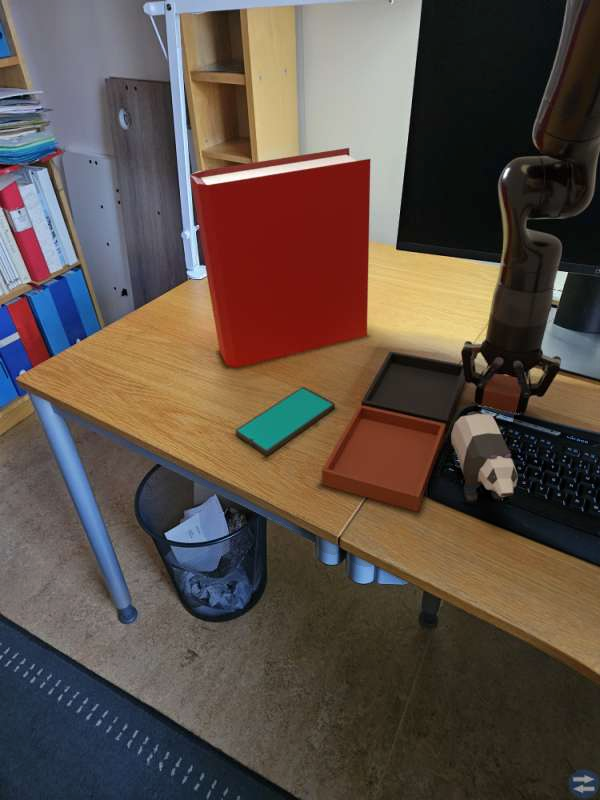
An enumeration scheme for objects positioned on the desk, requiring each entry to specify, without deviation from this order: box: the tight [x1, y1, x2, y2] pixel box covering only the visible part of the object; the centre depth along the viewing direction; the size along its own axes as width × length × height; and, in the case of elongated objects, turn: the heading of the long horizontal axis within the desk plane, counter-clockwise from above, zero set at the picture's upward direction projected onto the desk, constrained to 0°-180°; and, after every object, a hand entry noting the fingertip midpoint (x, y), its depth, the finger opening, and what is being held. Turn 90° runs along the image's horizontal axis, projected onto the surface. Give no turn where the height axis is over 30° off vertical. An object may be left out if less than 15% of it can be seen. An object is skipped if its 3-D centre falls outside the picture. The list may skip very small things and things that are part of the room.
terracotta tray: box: [321, 404, 446, 512], centre depth 78 cm, size 13×15×3 cm
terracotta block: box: [481, 374, 521, 413], centre depth 85 cm, size 5×5×5 cm
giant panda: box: [450, 411, 519, 502], centre depth 71 cm, size 15×6×10 cm, turn 2°
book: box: [189, 147, 371, 368], centre depth 97 cm, size 27×8×32 cm, turn 110°
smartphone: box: [235, 386, 336, 456], centre depth 87 cm, size 7×1×15 cm
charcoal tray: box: [360, 350, 466, 436], centre depth 90 cm, size 13×15×3 cm
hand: (499, 408), depth 86 cm, fingers closed on terracotta block, 5 cm apart
